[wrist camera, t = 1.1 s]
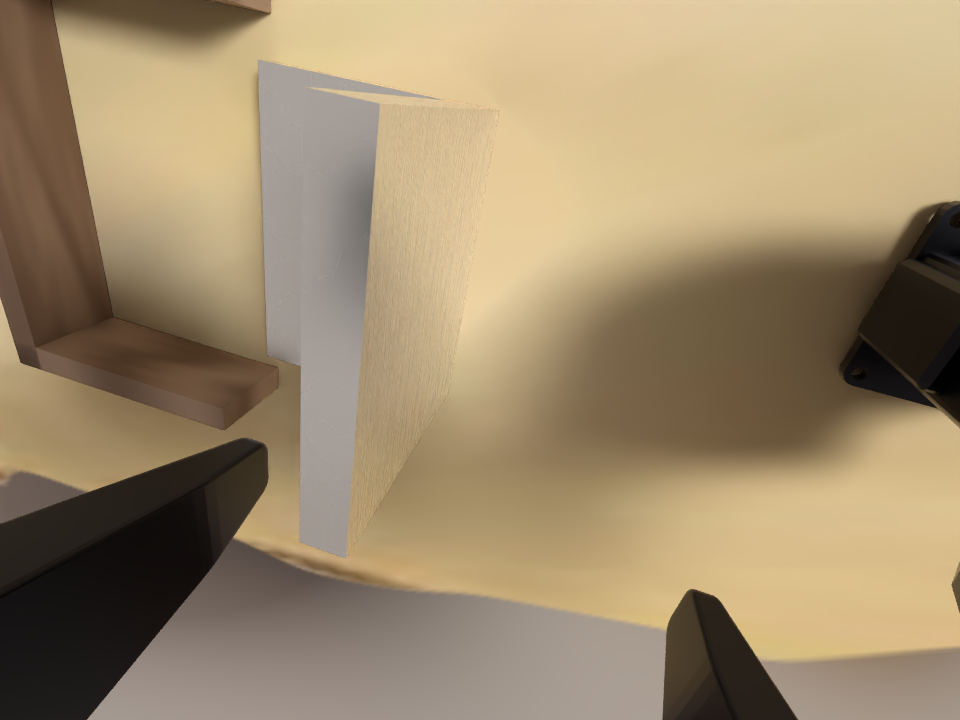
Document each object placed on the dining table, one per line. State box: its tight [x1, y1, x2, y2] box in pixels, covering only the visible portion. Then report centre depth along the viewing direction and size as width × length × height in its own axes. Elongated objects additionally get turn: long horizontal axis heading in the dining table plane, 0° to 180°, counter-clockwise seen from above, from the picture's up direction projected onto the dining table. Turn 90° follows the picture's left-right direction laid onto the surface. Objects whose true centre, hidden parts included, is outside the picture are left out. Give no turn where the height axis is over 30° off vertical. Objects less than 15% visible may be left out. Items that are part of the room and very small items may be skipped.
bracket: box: [258, 60, 499, 559], centre depth 16 cm, size 8×12×10 cm
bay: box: [0, 0, 278, 430], centre depth 20 cm, size 11×17×4 cm, turn 168°
